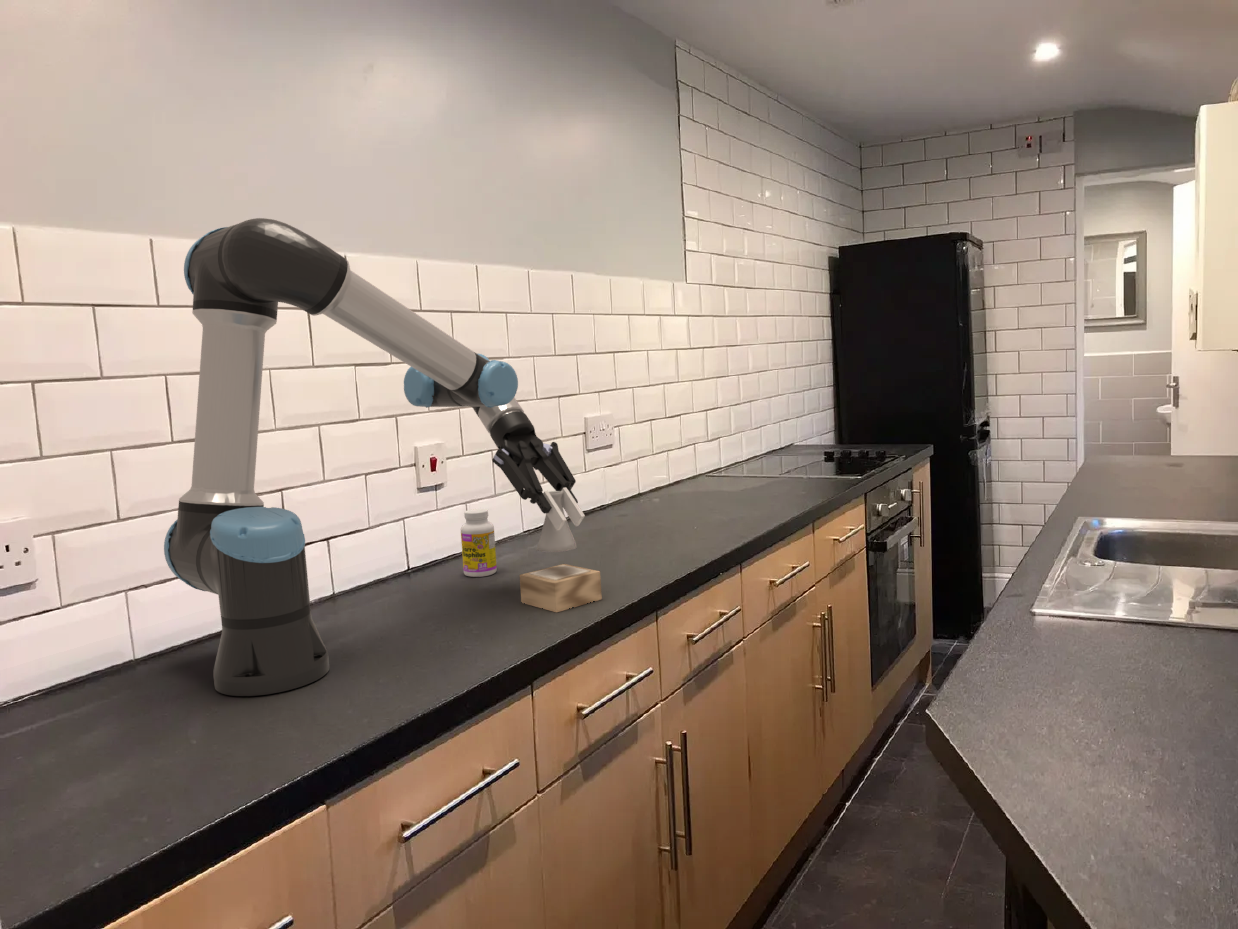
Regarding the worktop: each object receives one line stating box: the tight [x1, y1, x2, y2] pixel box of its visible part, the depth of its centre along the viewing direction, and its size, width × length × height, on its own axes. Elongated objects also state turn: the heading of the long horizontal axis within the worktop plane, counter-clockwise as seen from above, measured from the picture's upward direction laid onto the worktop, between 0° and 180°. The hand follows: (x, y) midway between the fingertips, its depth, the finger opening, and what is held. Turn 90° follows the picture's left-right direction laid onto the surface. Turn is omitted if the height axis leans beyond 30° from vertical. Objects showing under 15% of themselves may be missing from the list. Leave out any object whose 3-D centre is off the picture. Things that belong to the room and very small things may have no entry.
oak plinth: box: [519, 563, 603, 613], centre depth 159 cm, size 10×10×5 cm
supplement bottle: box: [460, 508, 498, 578], centre depth 183 cm, size 7×7×13 cm
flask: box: [536, 490, 577, 553], centre depth 158 cm, size 7×7×10 cm
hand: (570, 522), depth 155 cm, fingers closed on flask, 3 cm apart
